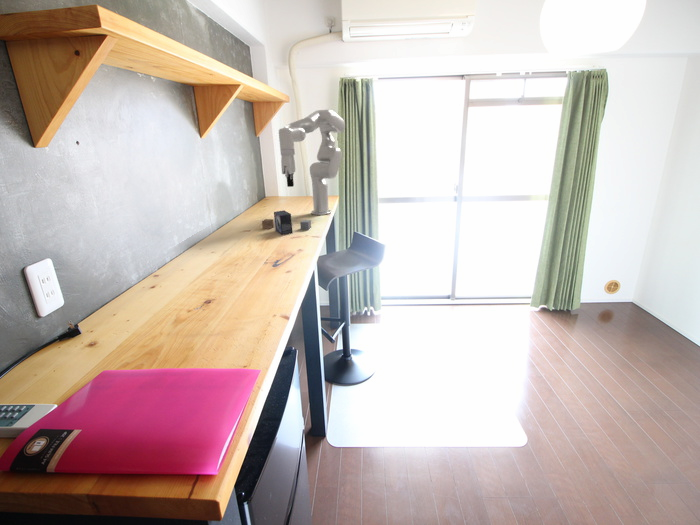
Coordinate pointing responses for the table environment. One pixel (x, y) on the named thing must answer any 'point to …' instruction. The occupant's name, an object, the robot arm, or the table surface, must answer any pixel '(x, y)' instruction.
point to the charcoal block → (305, 224)
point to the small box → (283, 222)
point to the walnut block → (267, 223)
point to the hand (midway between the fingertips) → (290, 186)
